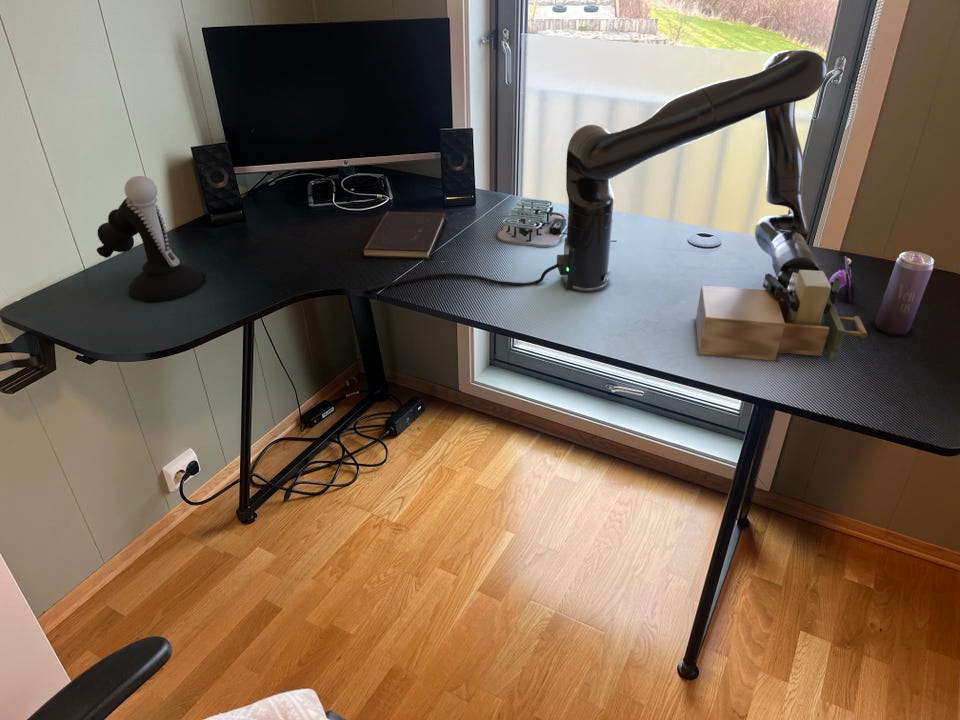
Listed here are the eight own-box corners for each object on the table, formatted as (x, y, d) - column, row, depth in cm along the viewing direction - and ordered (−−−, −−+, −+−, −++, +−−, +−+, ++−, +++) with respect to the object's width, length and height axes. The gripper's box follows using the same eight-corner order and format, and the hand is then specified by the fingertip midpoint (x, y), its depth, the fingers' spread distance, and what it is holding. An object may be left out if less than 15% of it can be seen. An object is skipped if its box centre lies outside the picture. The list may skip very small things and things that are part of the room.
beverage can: (908, 324, 136) (934, 254, 128) (909, 339, 132) (936, 267, 123) (874, 318, 138) (898, 248, 130) (874, 332, 134) (898, 261, 125)
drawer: (849, 330, 133) (859, 301, 130) (864, 362, 124) (875, 333, 121) (755, 322, 136) (762, 294, 133) (763, 354, 127) (770, 324, 124)
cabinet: (766, 325, 137) (774, 290, 132) (775, 360, 127) (785, 323, 122) (695, 320, 139) (701, 285, 135) (699, 354, 129) (706, 317, 125)
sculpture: (172, 306, 148) (137, 193, 134) (84, 290, 155) (43, 181, 141) (216, 274, 160) (188, 167, 146) (133, 261, 167) (99, 158, 153)
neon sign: (614, 238, 162) (493, 225, 170) (612, 255, 164) (493, 241, 172) (627, 205, 178) (517, 194, 186) (626, 221, 181) (517, 209, 189)
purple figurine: (852, 273, 140) (850, 255, 147) (823, 277, 142) (823, 259, 149) (855, 302, 143) (853, 283, 150) (827, 306, 145) (826, 287, 152)
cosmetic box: (783, 325, 133) (798, 268, 126) (807, 327, 132) (823, 269, 125) (789, 344, 128) (805, 285, 121) (814, 346, 127) (831, 286, 120)
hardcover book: (445, 221, 183) (444, 212, 182) (429, 259, 165) (428, 250, 163) (385, 219, 185) (385, 211, 184) (363, 257, 166) (362, 248, 165)
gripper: (760, 245, 136) (773, 286, 123) (838, 250, 134) (860, 292, 120) (752, 279, 141) (764, 323, 127) (828, 284, 138) (848, 329, 124)
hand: (811, 308), depth 124 cm, fingers closed on cosmetic box, 4 cm apart
